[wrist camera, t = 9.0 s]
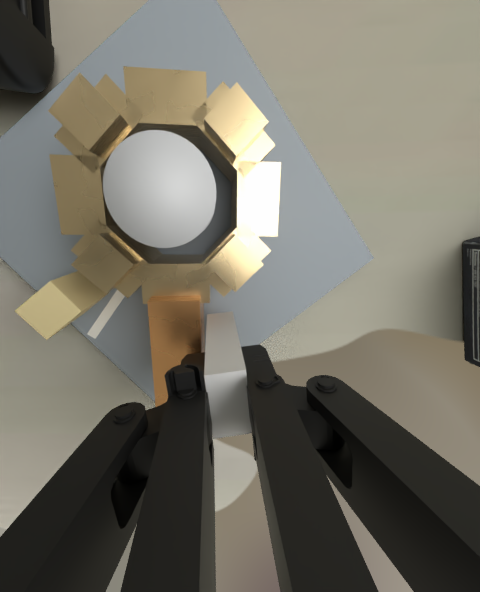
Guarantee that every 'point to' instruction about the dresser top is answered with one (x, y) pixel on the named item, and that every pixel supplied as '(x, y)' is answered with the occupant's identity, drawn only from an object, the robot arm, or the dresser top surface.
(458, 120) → the dresser top surface
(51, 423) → the dresser top surface
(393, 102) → the dresser top surface
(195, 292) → the gold ring with handle
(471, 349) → the small box
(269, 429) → the robot arm
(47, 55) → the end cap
